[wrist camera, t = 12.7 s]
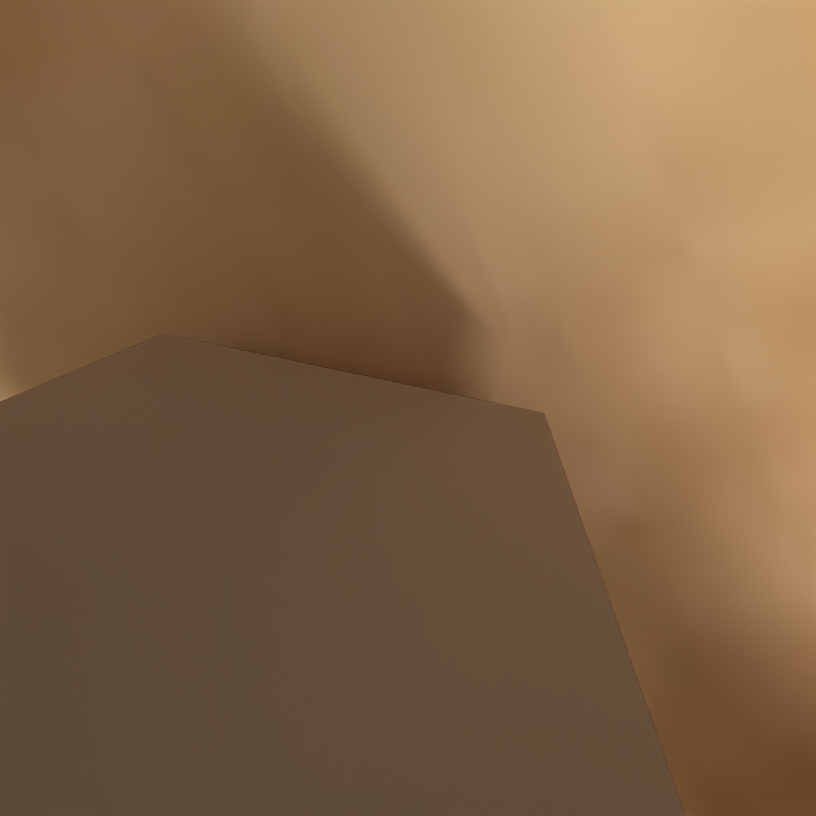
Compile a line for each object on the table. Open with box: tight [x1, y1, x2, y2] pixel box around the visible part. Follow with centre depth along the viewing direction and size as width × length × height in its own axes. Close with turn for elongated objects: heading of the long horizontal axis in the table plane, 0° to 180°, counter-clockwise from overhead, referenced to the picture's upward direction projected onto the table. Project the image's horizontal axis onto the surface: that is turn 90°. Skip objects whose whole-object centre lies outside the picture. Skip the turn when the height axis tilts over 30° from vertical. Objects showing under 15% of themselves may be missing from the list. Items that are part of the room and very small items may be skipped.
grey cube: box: [0, 334, 685, 816], centre depth 8 cm, size 8×8×9 cm
